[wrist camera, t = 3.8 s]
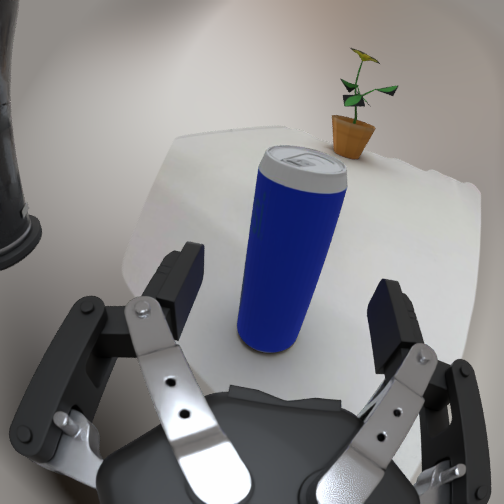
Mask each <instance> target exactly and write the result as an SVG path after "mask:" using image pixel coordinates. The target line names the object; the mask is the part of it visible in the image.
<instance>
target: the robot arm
mask: <svg viewBox="0 0 504 504" xmlns="http://www.w3.org/2000/svg"><path fill="white" fill-rule="evenodd" d="M18 8H19V0H0V256H3V255H5V254H7V253H9V252H11V251H13V250H14V249H16V248H17V247H18V246H20V245H21V244H22V243H23V242H24V241H25V240H26V239H27V238H28V236H29V235H30V233H31V230H32V223H31V220H30V217H29V215H28V209H29V207H28V203H25V198H24V194H23V190H22V185H21V180H20V175H19V170H18V164H17V158H16V151H15V144H14V136H13V127H12V117H11V102H10V101H11V100H10V82H11V59H12V48H13V40H14V34H15V28H16V21H17V16H18ZM203 275H204V244H199V243H193V242H188V241H187V242H186V244H185V245H184V247H183V249H182V251H181V252H179V251H172V252H171V253H169V254H168V255H167V256H165V258H164V259H163V261H162V262H161V264H160V266H159V267H158V269H157V271H156V273H155V274H154V275H153V277H152V279H151V280H150V282H149V284H148V285H147V287H146V289H145V291H144V292H143V294H142V296H140V297H136V298H134V299H132V300H130V301H129V302H128V303H127V305H126V306H105V305H104V303H103V301H102V300H101V299H100V298H98V297H96V296H86V297H83V298H81V299H79V300H78V301H77V302H76V303H75V304H74V305H73V307H72V308H71V310H70V312H69V314H68V315H67V316H66V318H65V320H64V322H63V323H62V325H61V326H60V328H59V330H58V331H57V333H56V335H55V337H54V339H53V340H52V342H51V344H50V346H49V347H48V349H47V351H46V353H45V354H44V356H43V358H42V360H41V362H40V364H39V366H38V368H37V370H36V372H35V374H34V375H33V377H32V380H31V382H30V384H29V386H28V388H27V390H26V392H25V394H24V396H23V399H22V401H21V403H20V405H19V407H18V410H17V412H16V414H15V417H14V419H13V421H12V424H11V426H10V431H9V438H10V441H11V444H12V446H13V447H14V449H15V450H16V451H17V452H18V453H20V454H21V455H23V456H25V457H27V458H29V459H30V460H31V461H32V462H34V463H36V464H38V465H40V466H42V467H44V468H46V469H48V470H51V471H54V472H56V473H59V474H61V475H67V476H69V477H71V478H73V479H75V480H77V481H79V482H81V483H84V484H86V485H89V486H91V487H93V488H96V489H97V493H98V497H99V501H100V504H487V503H488V501H489V498H490V495H491V471H490V458H489V449H488V440H487V432H486V426H485V420H484V414H483V408H482V404H481V398H480V394H479V389H478V385H477V381H476V377H475V373H474V370H473V368H472V366H471V365H470V364H469V363H468V362H467V361H465V360H463V359H457V360H455V361H454V362H453V363H452V364H451V365H449V364H446V363H444V362H441V361H439V360H437V356H436V353H435V352H434V350H433V349H432V348H431V347H429V346H428V345H426V344H424V341H423V337H422V334H421V331H420V327H419V324H418V321H417V320H416V319H417V317H416V314H415V313H414V308H413V305H412V302H411V301H410V299H409V298H408V297H407V295H406V294H404V293H402V291H401V288H400V285H399V282H398V281H393V280H388V279H382V280H381V281H380V282H379V284H378V286H377V288H376V290H375V292H374V294H373V296H372V298H371V300H370V302H369V304H368V309H367V317H368V323H369V329H370V336H371V342H372V349H373V357H374V364H375V372H376V374H385V379H384V380H383V382H382V383H381V384H380V386H379V387H378V389H377V390H376V392H375V393H374V394H373V396H372V397H371V399H370V400H369V401H368V403H367V404H366V405H365V407H364V408H363V409H362V410H361V412H360V413H359V414H358V415H357V416H356V415H354V414H353V413H351V412H350V411H347V410H345V409H343V408H341V400H333V399H322V398H310V399H302V400H293V401H285V400H282V399H280V398H277V397H274V396H272V395H269V394H267V393H264V392H262V391H260V390H256V389H250V388H244V387H239V386H234V385H230V387H229V392H218V393H213V394H209V395H206V396H204V395H203V393H202V391H201V389H200V388H199V385H198V383H197V381H196V379H195V377H194V375H193V373H192V371H191V369H190V367H189V364H188V362H187V360H186V358H185V356H184V354H183V351H182V349H181V347H180V346H179V345H177V344H176V343H175V340H177V341H179V338H180V336H181V333H182V331H183V328H184V326H185V323H186V321H187V318H188V316H189V313H190V311H191V308H192V306H193V303H194V301H195V299H196V296H197V294H198V291H199V289H200V286H201V284H202V280H203ZM118 357H128V358H130V357H132V358H137V359H138V362H139V365H140V368H141V371H142V374H143V377H144V380H145V383H146V386H147V389H148V391H149V394H150V397H151V399H152V402H153V405H154V407H155V410H156V412H157V415H158V417H159V419H160V422H161V424H160V425H158V426H157V427H155V428H153V429H152V430H150V431H148V432H147V433H145V434H144V435H142V436H140V437H139V438H137V439H135V440H134V441H132V442H130V443H129V444H127V445H125V446H124V447H122V448H120V449H118V450H117V451H115V452H113V453H112V454H110V455H109V456H108V457H107V458H105V459H104V460H103V459H102V457H101V455H100V452H99V443H100V436H99V432H98V430H97V429H96V427H95V426H94V425H92V421H93V419H94V416H95V413H96V410H97V408H98V405H99V402H100V400H101V397H102V394H103V392H104V389H105V387H106V384H107V382H108V379H109V377H110V374H111V372H112V370H113V367H114V365H115V362H116V360H117V358H118ZM449 403H450V406H451V413H452V421H451V424H450V425H449V417H448V409H447V405H448V404H449ZM418 414H419V416H420V430H421V451H422V473H421V474H420V475H419V476H418V478H417V482H416V483H415V484H414V485H412V484H411V483H410V481H409V480H408V479H407V478H406V476H405V475H404V474H403V473H402V471H401V470H400V469H399V467H398V466H397V465H396V464H395V462H394V461H393V460H392V458H393V456H394V455H395V453H396V452H397V450H398V449H399V447H400V445H401V444H402V442H403V440H404V439H405V437H406V435H407V434H408V432H409V430H410V428H411V427H412V425H413V423H414V421H415V419H416V417H417V416H418Z"/></svg>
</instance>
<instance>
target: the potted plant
mask: <svg viewBox="0 0 504 504" xmlns="http://www.w3.org/2000/svg"><path fill="white" fill-rule="evenodd" d="M351 49H352V48H351ZM352 50H353V51H354V52H356V53H357V54H358V55H359V56H360V58H361V60H362V62H363V61H370V60H371V61H374V62H376V63H379V62H378V61H377V60H376V59H374V58H372V57H370V56H368V55H367V54H365V53H363V52H361V51H359V50H355V49H352ZM379 64H380V63H379ZM361 65H362V63H361ZM361 65H360V68H359V71H358V74H357V78H356V83H355V84H351V83H348V82H346V81H344V80H343V79H341V81H342V82H343V84H344V85H345V87H346V89H347V90H348V92H351V91H352V90H354V89H355V95H343V100H344V106H355V118H354V119H352V118H349V117H344V116H338V115H332V125H333V143H334V152H335V153H336V154H339V155H341V156H343V157H347V158H351V159H358V158H359V157H360V155H361V153H362V151H363V150H364V148H365V146H366V144H367V143H368V141H369V139H370V137H371V136H372V134H373V132H374V130H375V127H374V126H372V125H370V124H367V123H365V122H362V121H359V120H357V107H356V106H365V104H364V100H365V99H364V98H363V96H364V95H366V94H368V93H370V92H372V91H374V90H372V91H369V92H367V93H365V94H363V95H360V92H359V89H358V92H359V93H358V94H356V87H358V85H357V80H358V76H359V72H360V69H361ZM397 87H398V86H392V87H386V88H381V89H375V90H378V91H380V92H383V93H386V94H389V95H391V96H393V95H394V93H395V91H396V89H397ZM363 99H364V100H363ZM365 101H366V100H365ZM366 102H367V101H366ZM368 105H369V104H368Z"/></svg>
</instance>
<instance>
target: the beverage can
mask: <svg viewBox="0 0 504 504" xmlns="http://www.w3.org/2000/svg"><path fill="white" fill-rule="evenodd" d="M346 190H347V167H346V166H345V164H344V163H342V162H341V161H340V160H338V159H336V158H335V157H333V156H330V155H328V154H326V153H323V152H320V151H317V150H313V149H309V148H305V147H299V146H289V145H280V146H273V147H270V148H268V149H267V150H266V152H265V154H264V156H263V158H262V160H261V162H260V164H259V167H258V174H257V181H256V189H255V196H254V203H253V210H252V218H251V225H250V232H249V239H248V247H247V254H246V262H245V269H244V276H243V284H242V291H241V299H240V306H239V314H238V321H237V329H238V333H239V335H240V337H241V339H242V340H243V341H244V342H245V343H246V344H247V345H249V346H250V347H252V348H253V349H255V350H258V351H261V352H266V353H273V352H279V351H283V350H285V349H287V348H289V347H290V346H291V345H292V344H293V343H294V342H295V341H296V339H297V336H298V334H299V331H300V328H301V326H302V323H303V321H304V318H305V315H306V312H307V310H308V307H309V304H310V302H311V299H312V296H313V293H314V290H315V288H316V285H317V282H318V279H319V276H320V273H321V270H322V267H323V264H324V261H325V258H326V255H327V252H328V249H329V246H330V243H331V240H332V237H333V233H334V230H335V227H336V224H337V220H338V217H339V214H340V210H341V207H342V204H343V200H344V197H345V193H346Z"/></svg>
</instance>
